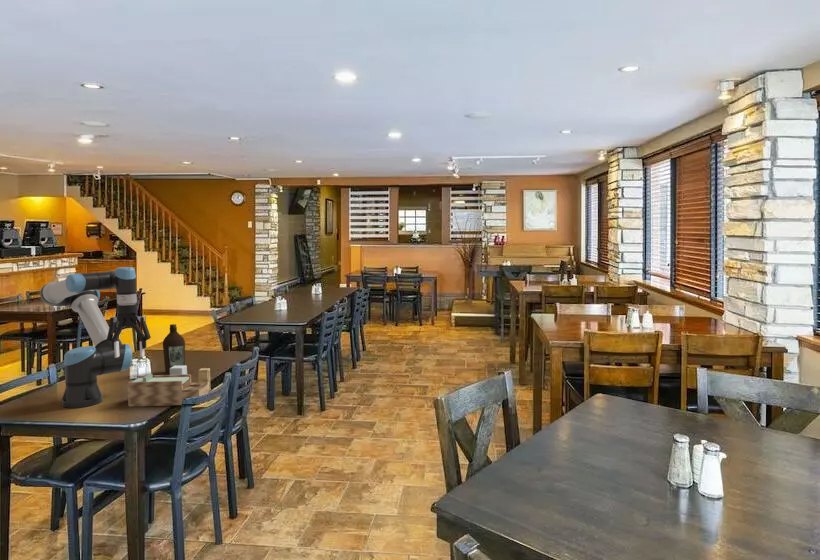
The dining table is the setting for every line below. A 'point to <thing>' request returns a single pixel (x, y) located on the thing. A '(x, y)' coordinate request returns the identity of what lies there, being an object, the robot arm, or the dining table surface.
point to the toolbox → (164, 391)
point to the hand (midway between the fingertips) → (129, 356)
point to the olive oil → (173, 349)
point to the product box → (178, 370)
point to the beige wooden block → (204, 376)
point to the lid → (161, 379)
